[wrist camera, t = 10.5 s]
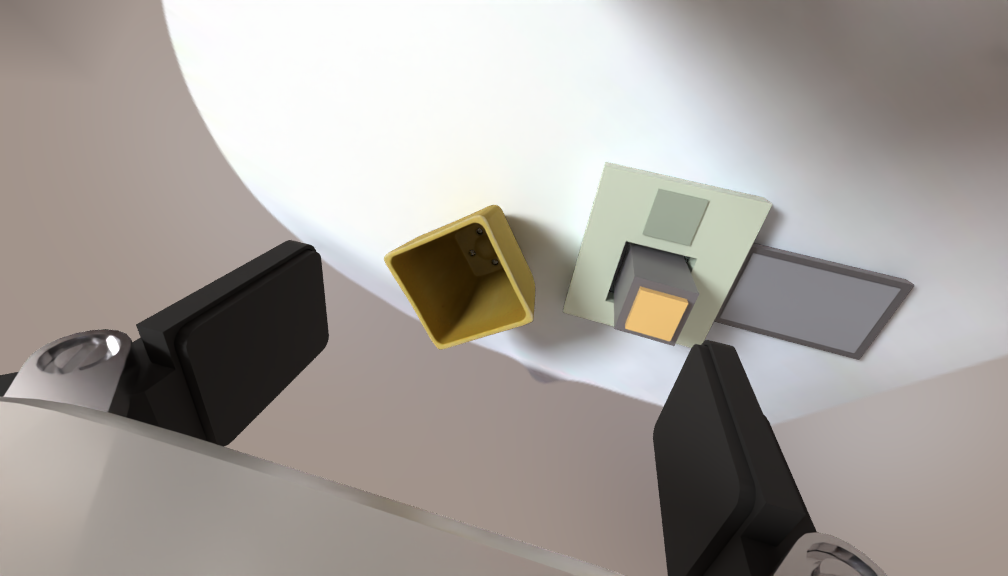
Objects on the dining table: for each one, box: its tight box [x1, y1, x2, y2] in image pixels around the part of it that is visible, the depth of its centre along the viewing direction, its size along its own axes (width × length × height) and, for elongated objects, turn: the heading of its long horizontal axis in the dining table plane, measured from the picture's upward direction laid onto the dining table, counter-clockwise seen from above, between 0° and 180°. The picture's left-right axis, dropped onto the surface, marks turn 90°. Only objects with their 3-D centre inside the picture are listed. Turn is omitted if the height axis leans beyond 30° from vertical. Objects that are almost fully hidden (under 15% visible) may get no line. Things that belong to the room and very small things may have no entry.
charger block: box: [614, 242, 699, 346], centre depth 32 cm, size 4×4×8 cm
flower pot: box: [384, 205, 535, 350], centre depth 34 cm, size 9×9×9 cm
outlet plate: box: [563, 162, 772, 348], centre depth 34 cm, size 13×12×2 cm
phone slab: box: [714, 243, 914, 360], centre depth 33 cm, size 7×12×1 cm, turn 79°
